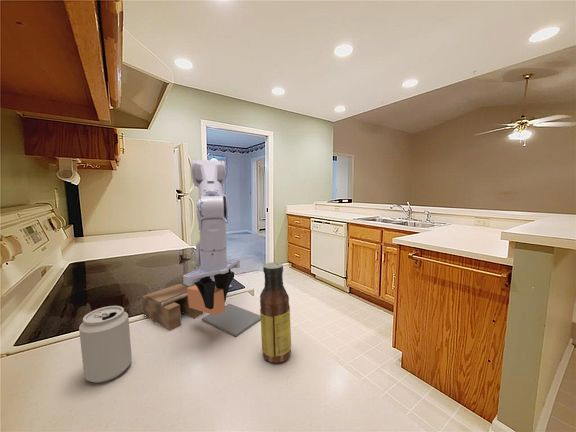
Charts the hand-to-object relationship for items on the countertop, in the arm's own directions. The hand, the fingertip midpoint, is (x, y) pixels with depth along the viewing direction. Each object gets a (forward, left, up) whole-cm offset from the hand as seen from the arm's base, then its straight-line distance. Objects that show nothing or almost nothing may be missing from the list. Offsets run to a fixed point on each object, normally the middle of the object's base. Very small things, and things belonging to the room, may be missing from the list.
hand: (215, 304), depth 58 cm
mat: (-7, -2, -8) cm, 11 cm away
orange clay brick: (0, -3, -2) cm, 4 cm away
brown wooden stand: (0, -18, -8) cm, 20 cm away
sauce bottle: (-3, +16, -8) cm, 18 cm away
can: (+19, -8, -8) cm, 22 cm away
